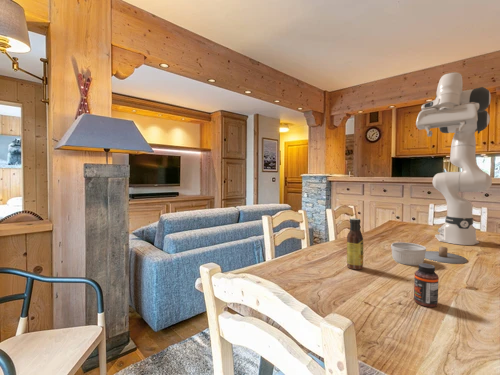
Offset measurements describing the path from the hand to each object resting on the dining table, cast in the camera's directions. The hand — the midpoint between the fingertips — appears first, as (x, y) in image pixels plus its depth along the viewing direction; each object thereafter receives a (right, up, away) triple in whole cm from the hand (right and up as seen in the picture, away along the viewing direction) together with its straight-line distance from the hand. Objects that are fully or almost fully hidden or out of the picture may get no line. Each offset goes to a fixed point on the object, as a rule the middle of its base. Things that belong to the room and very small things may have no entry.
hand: (443, 134), depth 108 cm
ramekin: (-8, -54, +10) cm, 55 cm away
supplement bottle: (-25, -55, -28) cm, 67 cm away
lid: (+11, -53, +15) cm, 57 cm away
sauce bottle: (-34, -54, +3) cm, 64 cm away
